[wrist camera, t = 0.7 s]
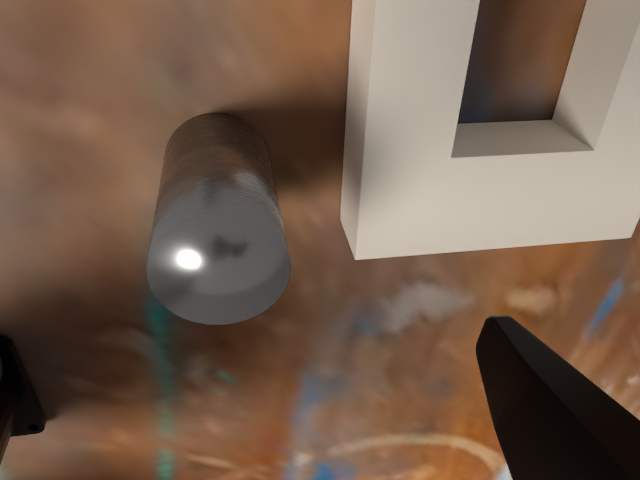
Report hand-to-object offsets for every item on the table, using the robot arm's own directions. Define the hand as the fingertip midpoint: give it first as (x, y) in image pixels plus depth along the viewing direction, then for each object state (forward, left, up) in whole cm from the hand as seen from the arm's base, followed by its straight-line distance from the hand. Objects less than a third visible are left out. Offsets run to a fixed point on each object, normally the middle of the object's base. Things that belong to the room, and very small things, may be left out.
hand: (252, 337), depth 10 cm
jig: (+2, -10, -12) cm, 16 cm away
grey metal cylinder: (-2, +1, -12) cm, 12 cm away
